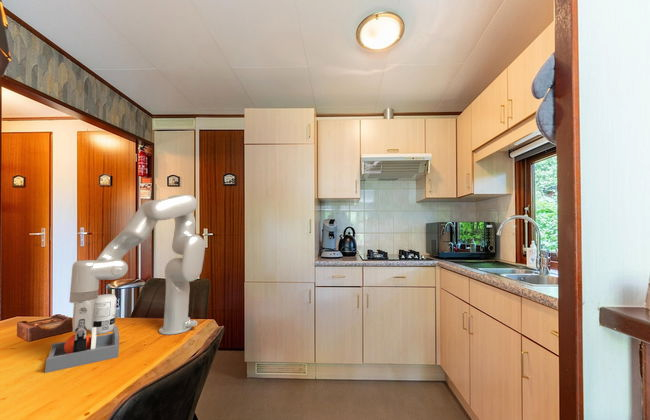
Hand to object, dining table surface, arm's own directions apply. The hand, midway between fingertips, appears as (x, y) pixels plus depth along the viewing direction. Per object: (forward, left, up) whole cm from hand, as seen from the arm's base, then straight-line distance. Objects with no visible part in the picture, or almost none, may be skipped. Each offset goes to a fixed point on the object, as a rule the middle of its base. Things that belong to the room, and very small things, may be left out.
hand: (80, 346), depth 96 cm
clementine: (0, 0, -3) cm, 3 cm away
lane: (-1, -1, -4) cm, 4 cm away
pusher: (-3, -2, -2) cm, 4 cm away
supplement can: (+9, -26, -4) cm, 28 cm away
